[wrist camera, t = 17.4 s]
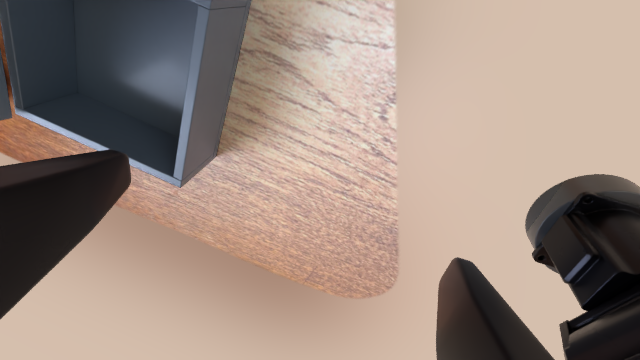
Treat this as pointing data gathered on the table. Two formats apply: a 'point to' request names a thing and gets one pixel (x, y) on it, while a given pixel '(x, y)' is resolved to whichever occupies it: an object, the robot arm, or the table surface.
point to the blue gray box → (128, 75)
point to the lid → (4, 95)
